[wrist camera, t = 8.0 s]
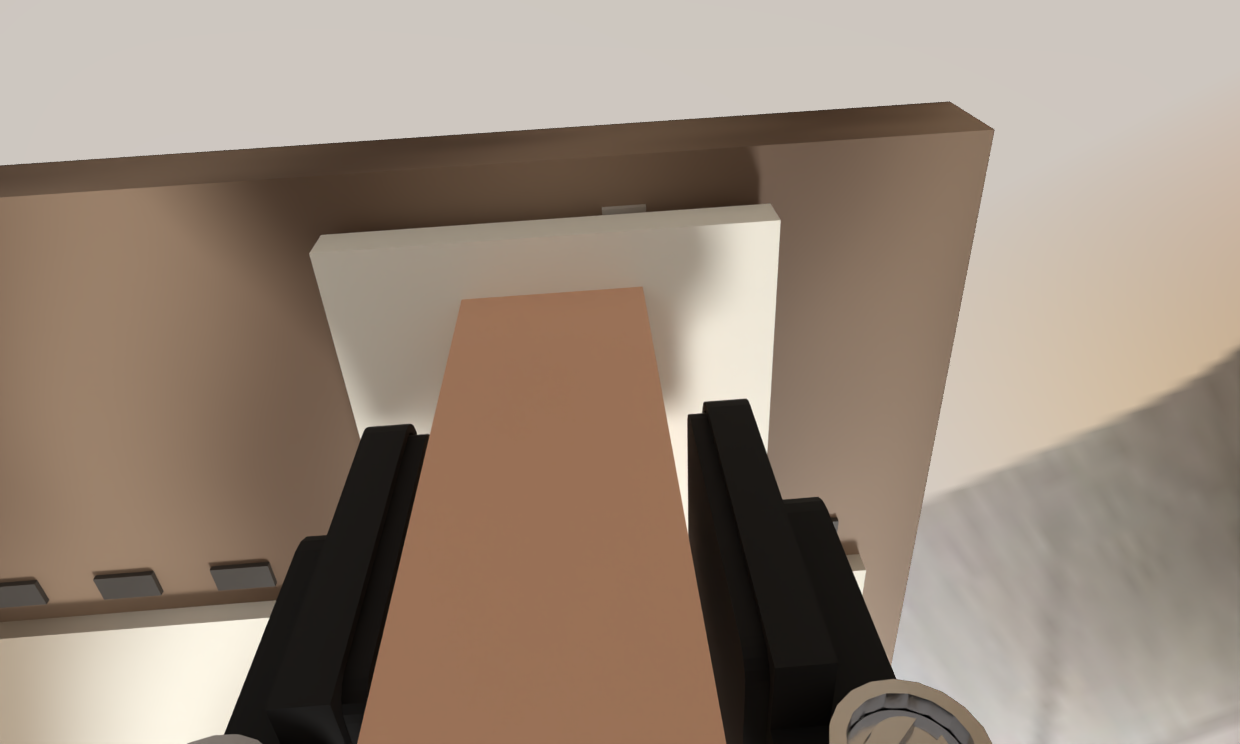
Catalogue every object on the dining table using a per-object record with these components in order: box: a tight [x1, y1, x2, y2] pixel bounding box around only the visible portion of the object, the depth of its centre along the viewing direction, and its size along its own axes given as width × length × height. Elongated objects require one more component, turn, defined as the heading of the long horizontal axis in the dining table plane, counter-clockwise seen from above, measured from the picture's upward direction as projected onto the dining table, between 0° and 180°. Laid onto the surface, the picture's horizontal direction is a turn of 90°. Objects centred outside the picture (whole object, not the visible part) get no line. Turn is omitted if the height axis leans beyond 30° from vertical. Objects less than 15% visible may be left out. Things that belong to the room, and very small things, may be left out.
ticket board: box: [0, 102, 994, 744], centre depth 15 cm, size 20×14×2 cm
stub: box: [309, 204, 781, 744], centre depth 9 cm, size 6×6×8 cm
